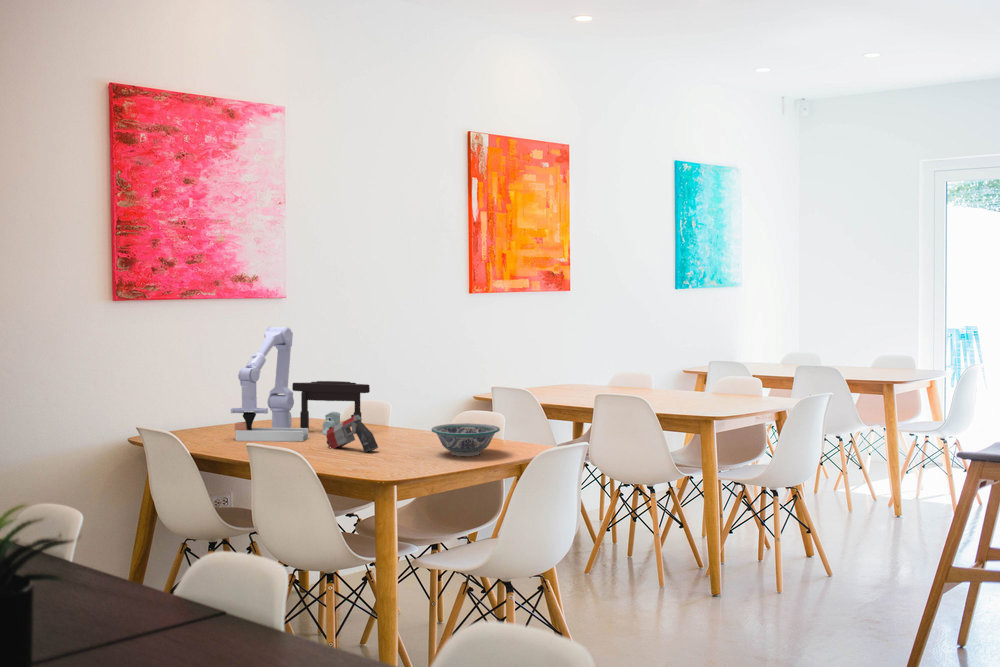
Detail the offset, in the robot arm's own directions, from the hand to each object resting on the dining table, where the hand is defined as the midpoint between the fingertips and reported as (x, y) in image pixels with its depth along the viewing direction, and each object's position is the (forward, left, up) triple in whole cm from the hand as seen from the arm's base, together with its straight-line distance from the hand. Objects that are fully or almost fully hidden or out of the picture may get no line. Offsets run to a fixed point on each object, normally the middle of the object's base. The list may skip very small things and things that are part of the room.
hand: (249, 431), depth 386 cm
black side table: (-21, +28, -3) cm, 35 cm away
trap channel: (0, +9, -3) cm, 9 cm away
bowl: (+27, +90, -3) cm, 94 cm away
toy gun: (+21, +46, -4) cm, 50 cm away
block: (0, -3, -1) cm, 3 cm away
